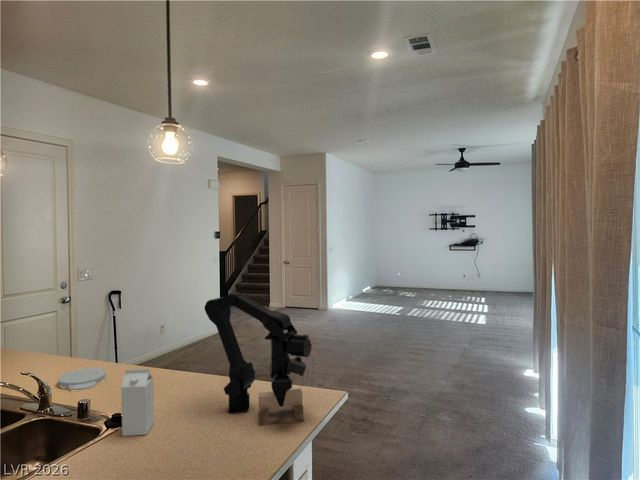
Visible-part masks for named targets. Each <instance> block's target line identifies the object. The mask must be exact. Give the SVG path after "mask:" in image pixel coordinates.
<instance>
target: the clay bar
mask: <svg viewBox="0 0 640 480" xmlns="http://www.w3.org/2000/svg"><path fill="white" fill-rule="evenodd" d="M303 396H304V395H303V391H302V389H301V388H291V389H290V390H288V391H287V392H286V395H285V400H284V404H283V406H281V407H280V406H279V404H278V401H277V399H276V397H275V395H274V392H273V390H272V391H265V392H264V391H263V392H258V409H259V408H269V411H277V410H286V409H294V406H296V405H303V406H304V404H303V400H304V399H303Z"/></svg>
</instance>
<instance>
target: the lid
mask: <svg viewBox="0 0 640 480" xmlns="http://www.w3.org/2000/svg"><path fill="white" fill-rule="evenodd" d="M106 374H107V371H106V370H105V369H103V368H100V367H88V368H82V369H76V370H72V371H69V372H65V373H63V374H61V375H60V376H59V377H58V379H57V382H58V385H60V386H62V387H65V388H69V389H70V390H84V391H86V390H85V389H88V390H90V389H89V388H91V389H93V388H92V387H94V386H95V385H96V386H97V385H98V384H100V383H99V382H101V381H102V380H103V379H104V378H105V379H106ZM105 379H104V380H105ZM104 380H103V381H104ZM103 381H102V382H103ZM102 382H101V383H102ZM97 383H98V384H97ZM60 386H59V387H60ZM96 386H95V387H96ZM95 387H94V388H95ZM69 389H68V390H69ZM70 390H69V391H70Z"/></svg>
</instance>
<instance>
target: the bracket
mask: <svg viewBox="0 0 640 480" xmlns="http://www.w3.org/2000/svg"><path fill="white" fill-rule="evenodd" d="M258 416H259V417H258V420H259V422H258V423H259V426H265V425H279V424H290V423H303V422H304V420H305V419H304V404H303V405H296V406H294V409H286V410H277V411H269V408H259V407H258Z"/></svg>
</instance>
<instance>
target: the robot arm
mask: <svg viewBox="0 0 640 480" xmlns="http://www.w3.org/2000/svg"><path fill="white" fill-rule="evenodd" d="M232 307H235V308H236V309H239V310H240V311H241V312H244V313H245V314H247V315H249V316H251V317H253V318H254V319H255V320H257V321H259V322H260V323H261V324H262V326H263V327H264V329H265V330H267V331H268V334H266V336H265V337H264V339H265V340H269V341H270V359H271V361H270V364H269V373H270V378H271V379H270V380H271V381H270V383H271V390H272V391H273V392H274V395H275V397H276V399H277V401H278V404H279V406H280V407H281V406H283V404H284V400H285V395H286V392H287V391H288V390H291V389H293V381H292V377H291V376H289V375H291V373H292V374H296V375H298V376H300V377H304V375H305V372H306V369H307V365H306V363H305V362H304V361H302V357H303V358H308V357H309V356H310V355H311V351H312V348H313V347H312V343H311V340H310V338H309V334H298V331H297V330H296V328H295V326H294V325H293V323H292V322H291V318H290V316H289V315H288V314H286V313H283V312H281V311H279V310H278V311H277V310H271V309H268V308H267V307H265V306H263V305H262V304H260V303H258V302H256V301H254V300H252V299H250V298H249V297H247V296H246V295H243V293H242V292H234V293H230V294H229V295H226V296H225V297H223V296H221V297H217V298H213V299H209V300H207V301H206V303H205V305H204V311H205V314H206V316H207V317H208V320H210V322H211V323H213V324H214V326H215V327H216V329H217V332H218V335H219V338H220V340H221V344H222V346H223V349H224V352H225V354H226V357H227V361H228V363H229V369H228V370H229V371H228V377H229V382H228V383H227V384H226V385H225V386H224V387H223V390H224V391H223V392H224V394H225V396H226V395H227V396H228V410H227V411H228V414H231V413H232V414H233V413H247V412H249V408H250V393H249V391H248V389H250V388H251V387H252V384H253V383H254V382H255V379H256V370H255V369H254V367H253V363H252V361H250V362H248V361H246V360H245V359H244V356H243V353H242V351H241V348H240V345H239V342H238V340H237V337H236V333H235V331H234V328H233V326H232V323H231V313H232V310H231V308H232ZM290 356H295V357H294V358H291V357H290Z"/></svg>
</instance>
